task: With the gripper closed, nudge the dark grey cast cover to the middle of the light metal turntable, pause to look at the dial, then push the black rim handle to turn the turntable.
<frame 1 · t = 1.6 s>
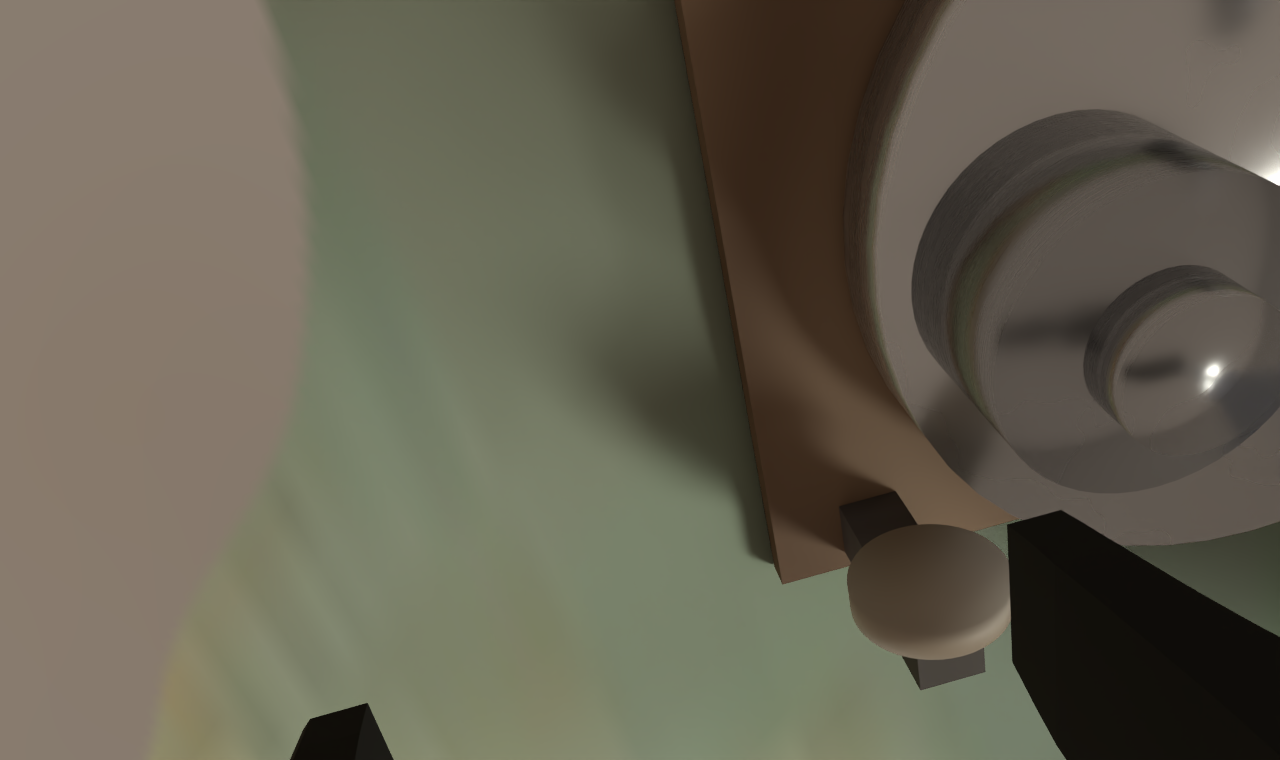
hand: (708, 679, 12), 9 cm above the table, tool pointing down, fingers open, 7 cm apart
base board: (1140, 112, 20), on the table
cover: (1057, 261, 18), point 3 cm above the table, touching turntable
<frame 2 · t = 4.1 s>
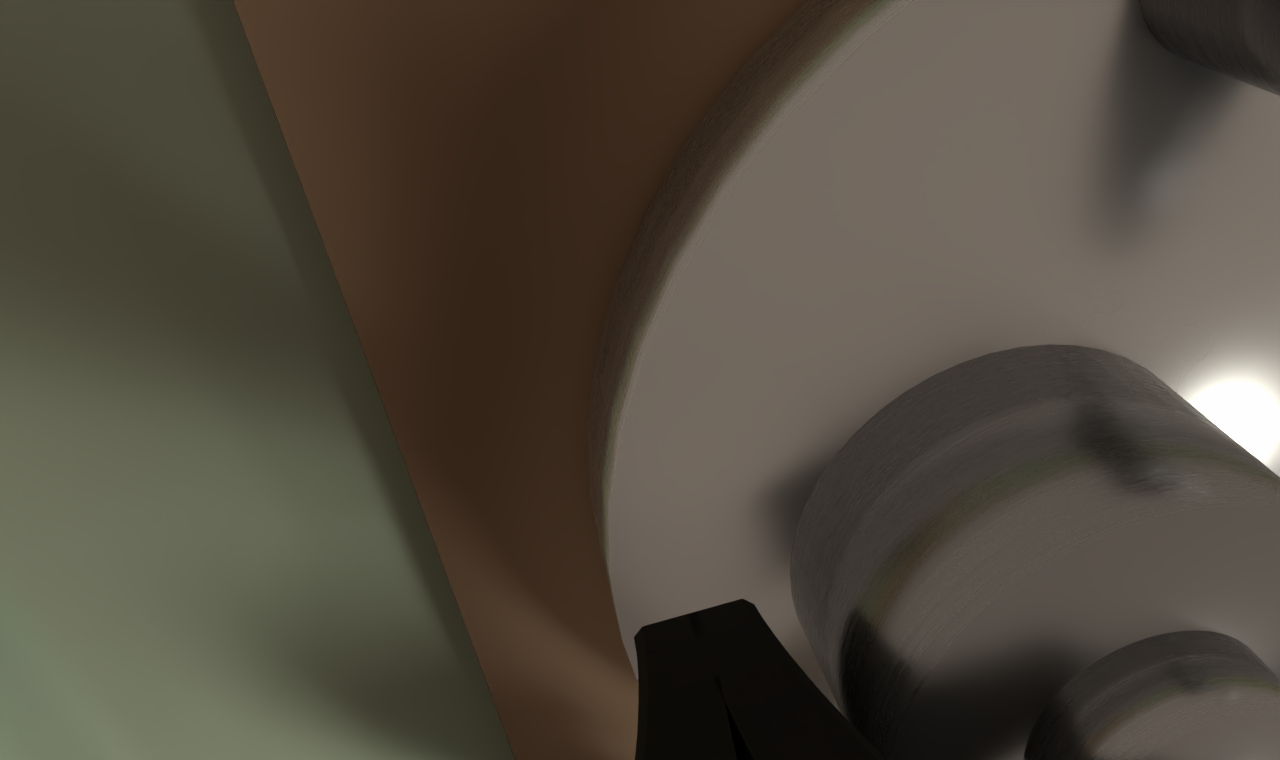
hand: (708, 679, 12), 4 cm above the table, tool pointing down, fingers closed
base board: (1011, 328, 15), on the table
cover: (998, 537, 13), point 3 cm above the table, touching gripper, turntable
turntable: (1262, 538, 12), point 4 cm above the table, hinge at 0.0°, touching cover
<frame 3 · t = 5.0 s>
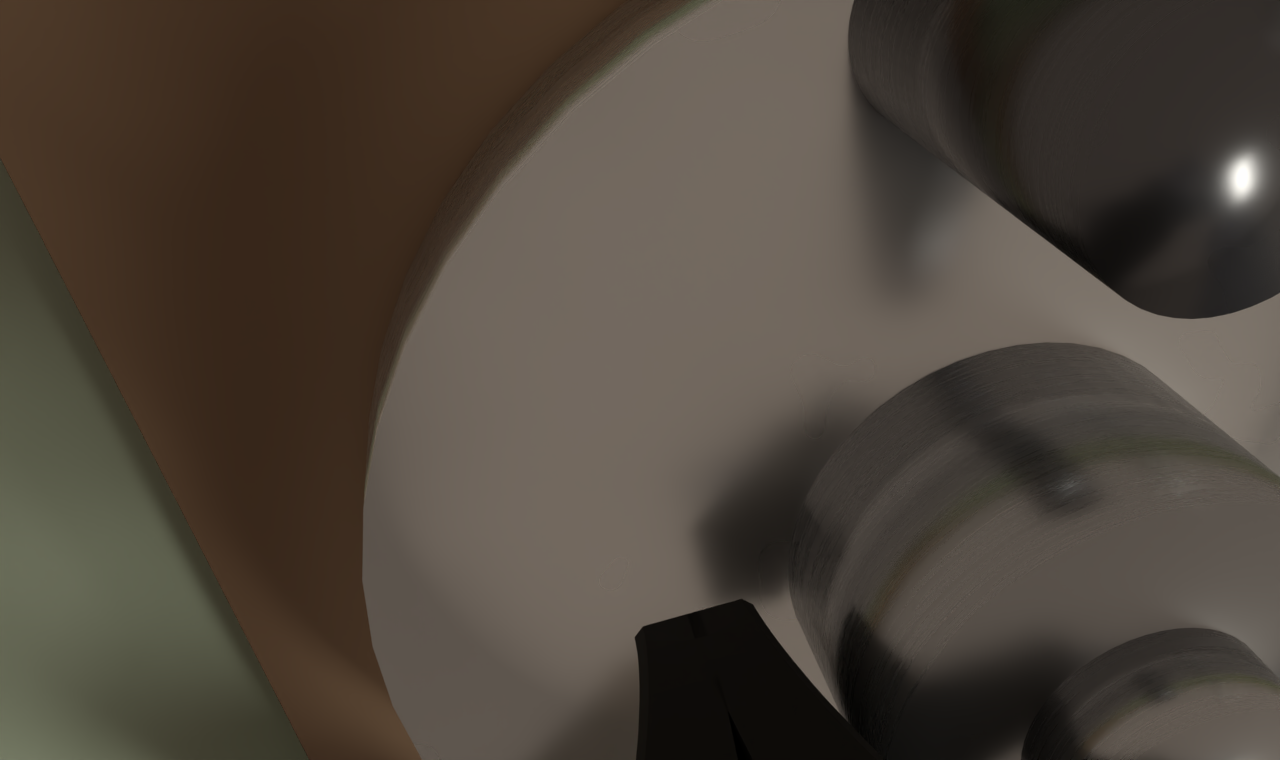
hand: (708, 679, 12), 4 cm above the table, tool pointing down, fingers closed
base board: (817, 380, 15), on the table
cover: (996, 535, 13), point 3 cm above the table, touching gripper, turntable
turntable: (1027, 603, 12), point 4 cm above the table, hinge at 0.0°, touching cover
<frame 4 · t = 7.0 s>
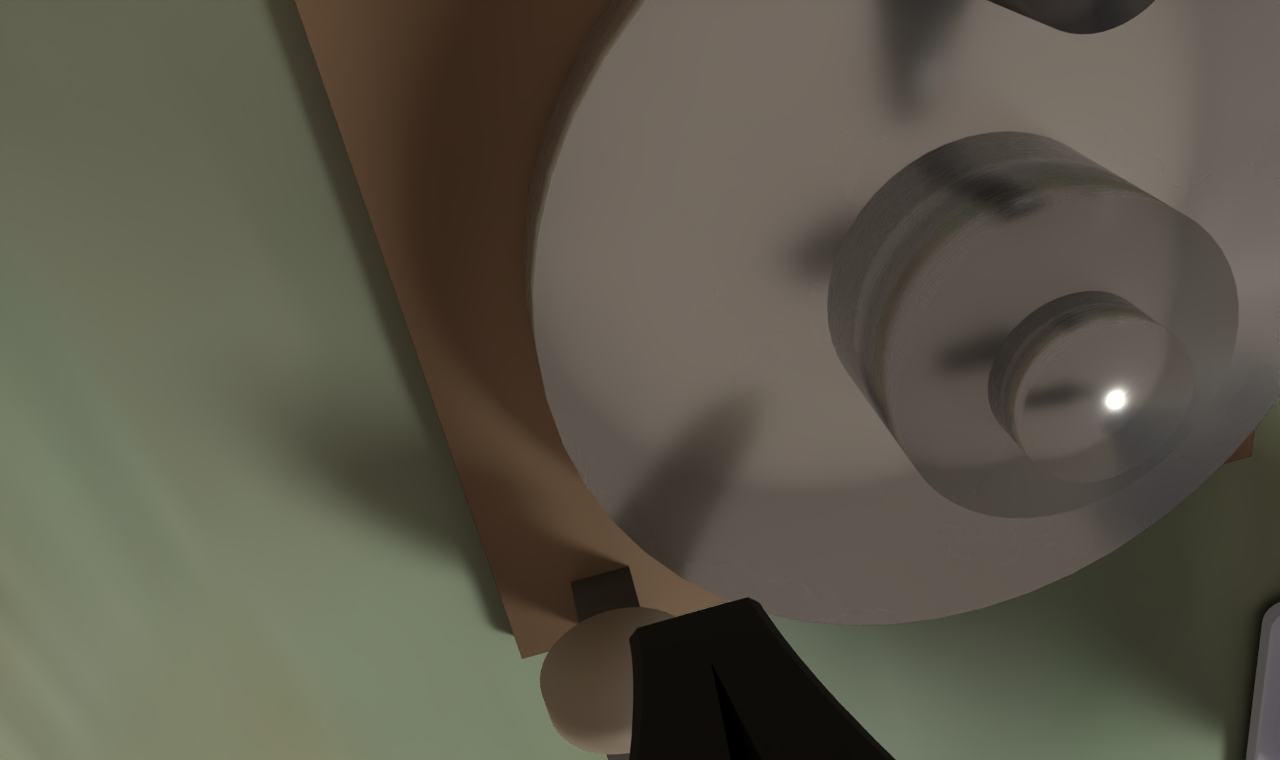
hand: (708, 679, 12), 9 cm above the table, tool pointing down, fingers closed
base board: (845, 191, 20), on the table
cover: (975, 283, 18), point 3 cm above the table, touching turntable
turntable: (997, 318, 17), point 4 cm above the table, hinge at 0.0°, touching cover
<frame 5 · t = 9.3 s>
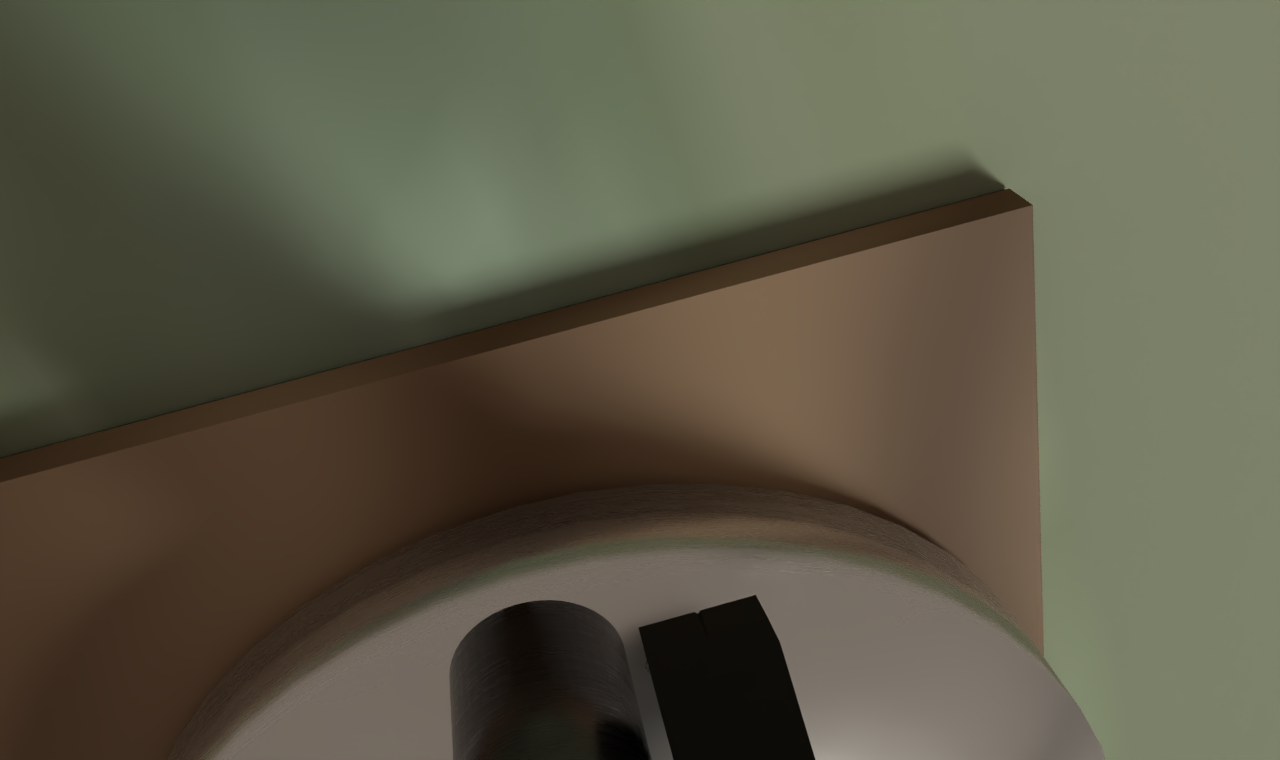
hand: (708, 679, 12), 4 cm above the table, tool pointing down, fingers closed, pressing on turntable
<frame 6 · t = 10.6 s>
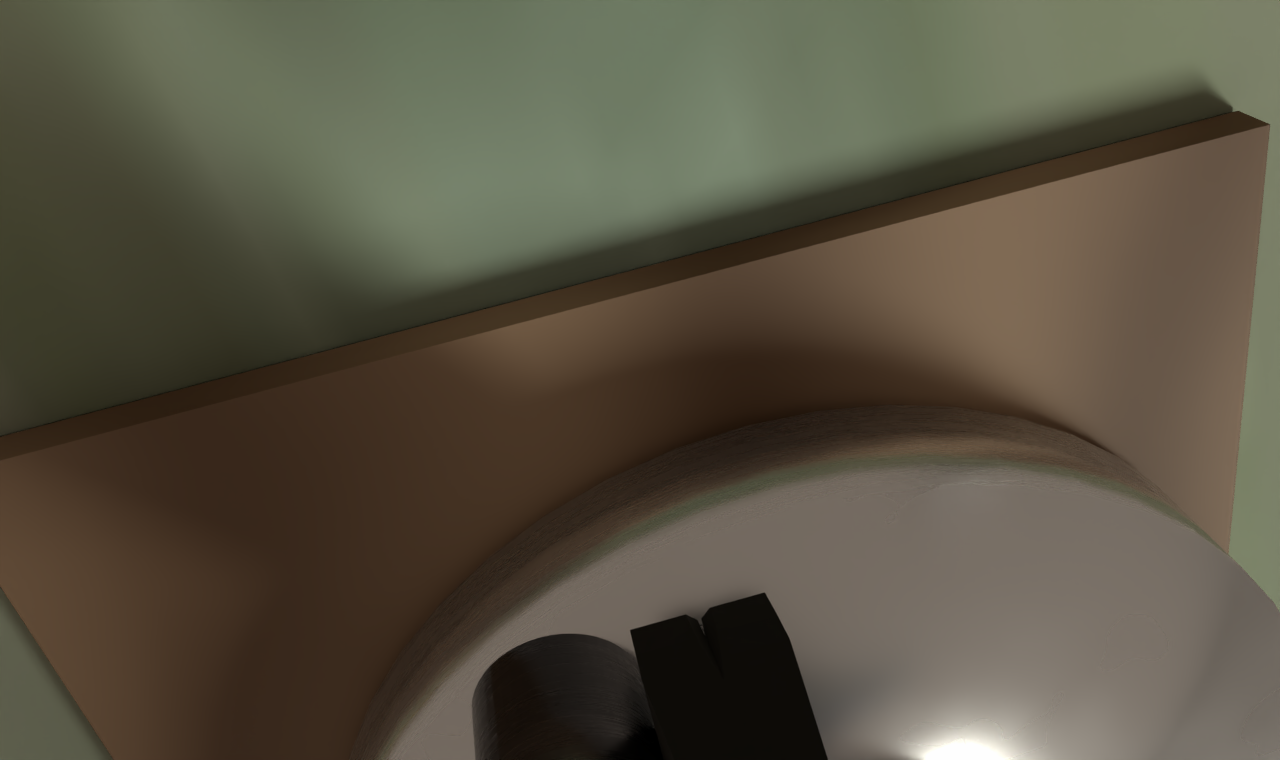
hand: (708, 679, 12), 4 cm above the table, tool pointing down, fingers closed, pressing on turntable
base board: (721, 727, 18), on the table
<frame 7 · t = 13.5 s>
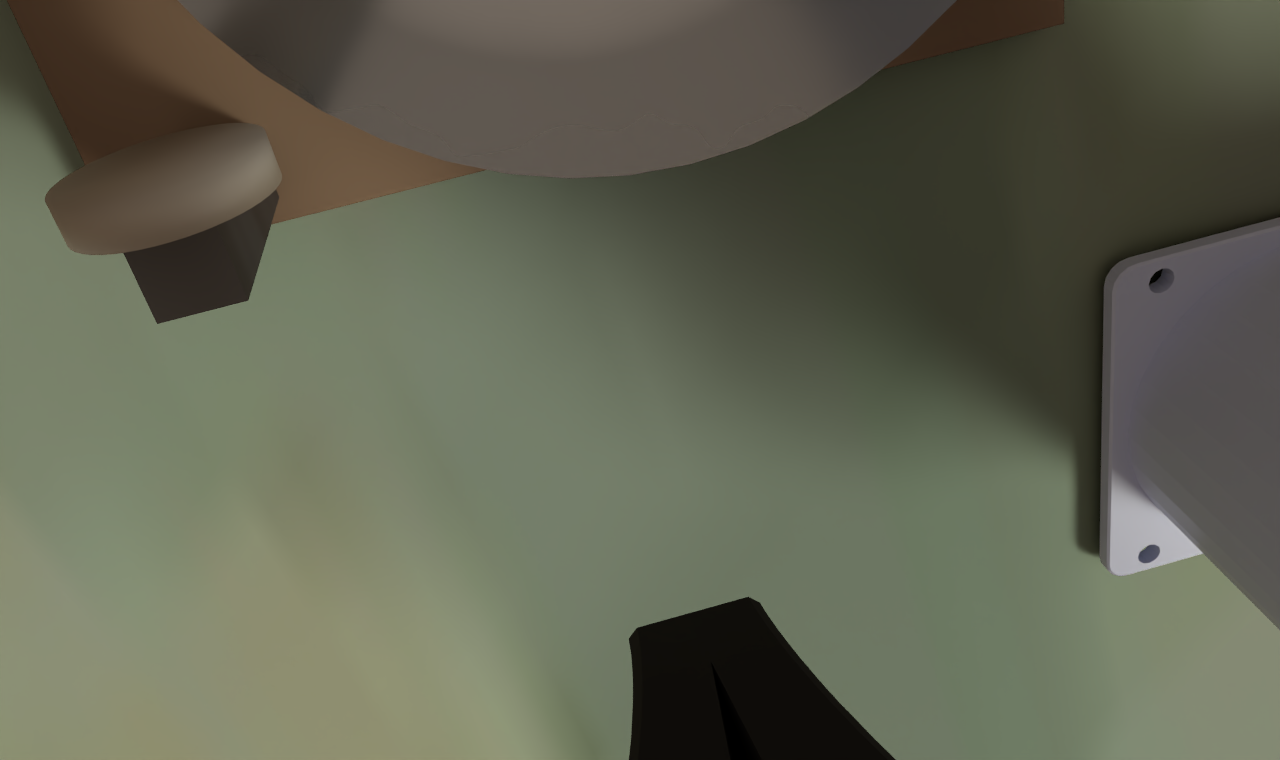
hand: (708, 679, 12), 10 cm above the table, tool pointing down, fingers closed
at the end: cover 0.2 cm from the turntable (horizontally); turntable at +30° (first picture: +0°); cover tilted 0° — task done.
